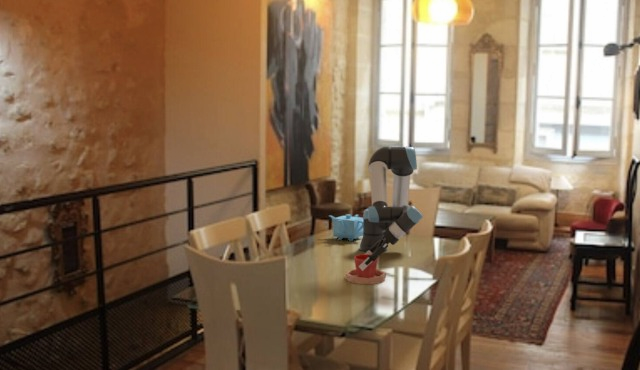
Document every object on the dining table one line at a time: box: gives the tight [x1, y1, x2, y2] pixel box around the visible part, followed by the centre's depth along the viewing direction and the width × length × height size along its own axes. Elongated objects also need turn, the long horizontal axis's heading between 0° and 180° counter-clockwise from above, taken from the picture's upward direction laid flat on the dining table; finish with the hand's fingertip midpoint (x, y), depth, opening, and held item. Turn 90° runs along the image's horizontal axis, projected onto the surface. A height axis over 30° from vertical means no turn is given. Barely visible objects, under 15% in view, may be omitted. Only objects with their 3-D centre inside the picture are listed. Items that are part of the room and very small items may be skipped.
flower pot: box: [353, 253, 379, 278], centre depth 316 cm, size 11×11×10 cm
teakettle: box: [329, 213, 363, 242], centre depth 405 cm, size 19×19×15 cm
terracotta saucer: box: [344, 268, 387, 285], centre depth 316 cm, size 18×18×3 cm
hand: (360, 264), depth 316 cm, fingers open, 13 cm apart
